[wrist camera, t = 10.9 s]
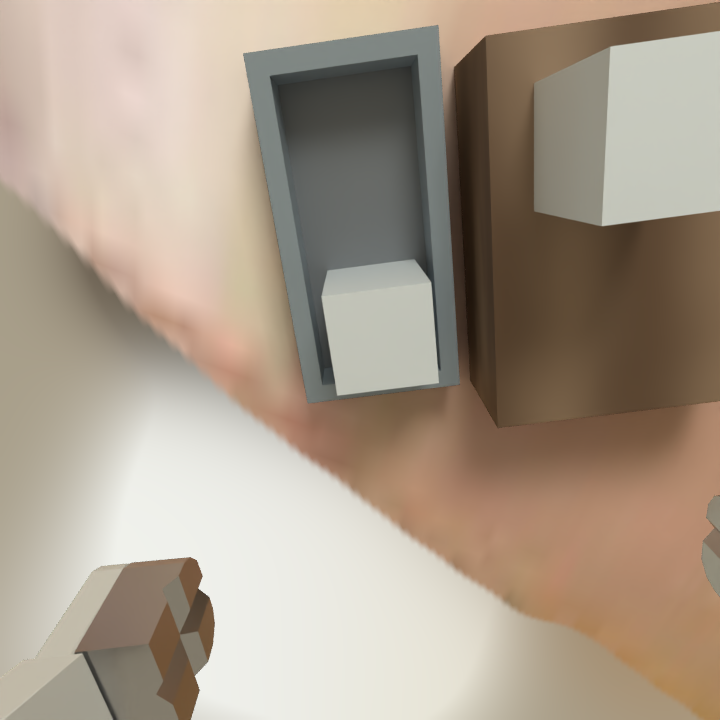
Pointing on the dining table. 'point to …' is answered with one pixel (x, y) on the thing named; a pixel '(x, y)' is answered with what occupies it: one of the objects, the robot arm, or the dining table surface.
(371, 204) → the tray
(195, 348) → the dining table surface
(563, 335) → the square brown board
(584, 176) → the white block
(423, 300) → the off-white small block
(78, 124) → the dining table surface
